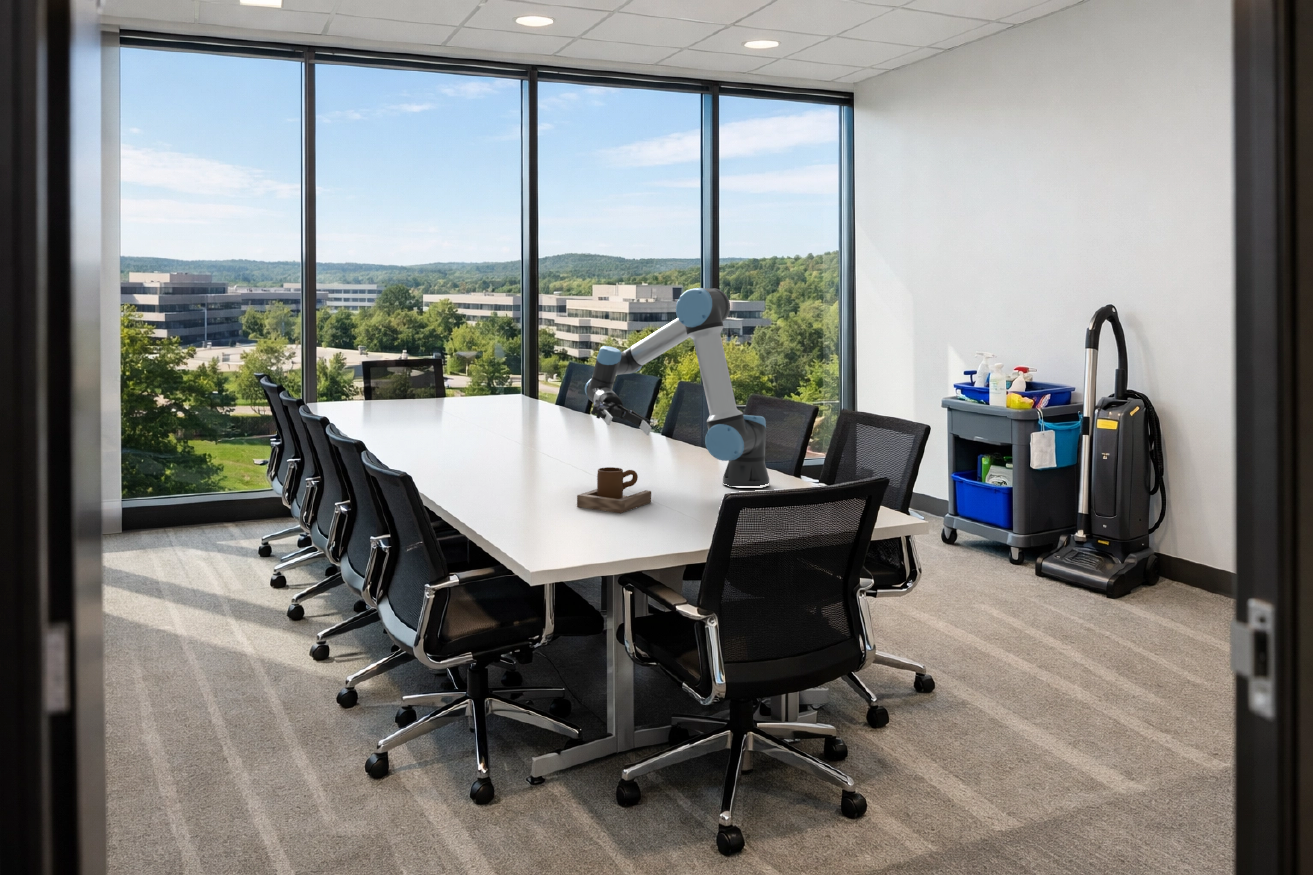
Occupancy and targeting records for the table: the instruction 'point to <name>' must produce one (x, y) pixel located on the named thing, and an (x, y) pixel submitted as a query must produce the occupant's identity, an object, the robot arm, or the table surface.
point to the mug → (613, 482)
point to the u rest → (613, 501)
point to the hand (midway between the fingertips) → (629, 426)
